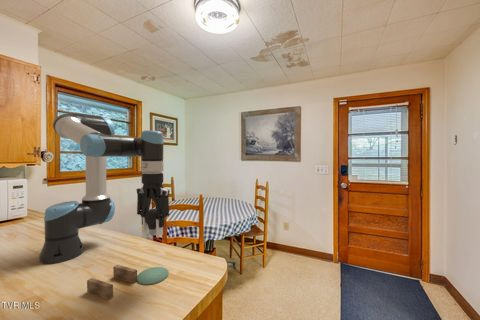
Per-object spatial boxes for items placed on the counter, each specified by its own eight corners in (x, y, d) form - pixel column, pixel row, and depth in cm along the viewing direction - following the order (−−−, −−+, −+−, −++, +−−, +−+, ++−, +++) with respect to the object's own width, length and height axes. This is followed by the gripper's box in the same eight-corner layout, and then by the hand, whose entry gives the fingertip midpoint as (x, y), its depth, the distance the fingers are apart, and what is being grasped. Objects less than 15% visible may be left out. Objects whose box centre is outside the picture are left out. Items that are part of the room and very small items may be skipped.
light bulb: (147, 233, 83) (147, 207, 82) (162, 232, 83) (162, 206, 83) (142, 238, 77) (142, 210, 77) (158, 238, 77) (158, 210, 77)
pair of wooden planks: (87, 292, 71) (87, 280, 71) (117, 275, 81) (117, 264, 81) (108, 299, 67) (108, 287, 67) (137, 280, 77) (137, 269, 77)
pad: (129, 280, 77) (129, 279, 77) (152, 266, 87) (152, 264, 87) (153, 287, 73) (153, 286, 73) (174, 271, 83) (174, 270, 83)
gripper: (125, 172, 80) (125, 234, 80) (165, 174, 73) (166, 242, 73) (141, 171, 87) (141, 228, 87) (179, 172, 80) (179, 234, 80)
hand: (152, 234), depth 80 cm, fingers closed on light bulb, 6 cm apart
